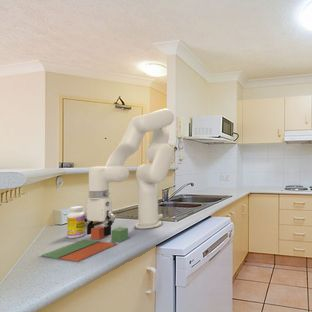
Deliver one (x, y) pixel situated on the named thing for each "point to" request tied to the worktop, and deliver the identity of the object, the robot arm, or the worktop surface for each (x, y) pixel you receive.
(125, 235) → the sage block
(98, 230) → the terracotta block
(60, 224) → the worktop surface
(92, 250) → the sorting mat
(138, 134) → the robot arm
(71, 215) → the supplement bottle
